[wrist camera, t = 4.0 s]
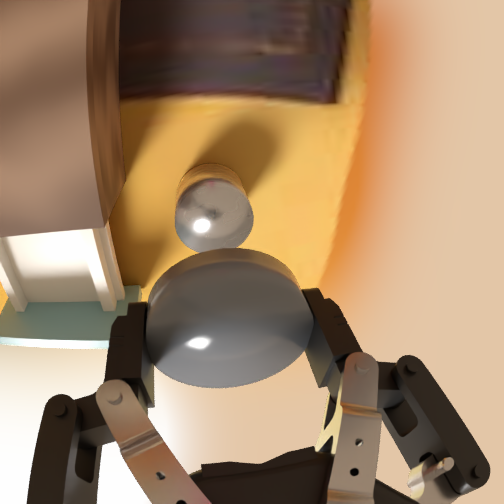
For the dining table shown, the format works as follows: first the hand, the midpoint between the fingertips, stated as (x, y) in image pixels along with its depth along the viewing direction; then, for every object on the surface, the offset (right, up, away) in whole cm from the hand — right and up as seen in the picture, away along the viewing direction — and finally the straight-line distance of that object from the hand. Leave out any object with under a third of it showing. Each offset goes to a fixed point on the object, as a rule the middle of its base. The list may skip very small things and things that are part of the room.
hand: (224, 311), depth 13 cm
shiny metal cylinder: (-2, +7, +9) cm, 11 cm away
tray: (-15, +5, +7) cm, 17 cm away
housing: (-14, +14, +1) cm, 20 cm away
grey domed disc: (0, 0, 0) cm, 0 cm away
